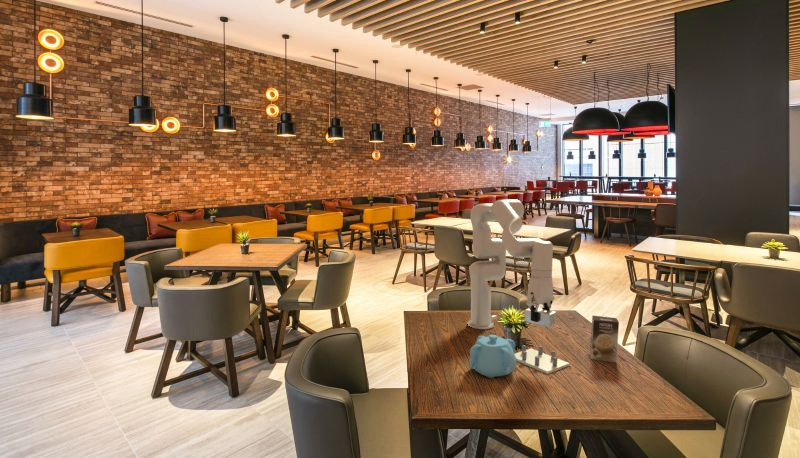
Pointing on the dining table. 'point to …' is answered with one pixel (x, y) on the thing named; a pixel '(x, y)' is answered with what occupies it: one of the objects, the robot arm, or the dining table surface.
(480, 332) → the dining table surface
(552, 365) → the pin tray
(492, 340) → the decorative pot
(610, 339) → the coffee box
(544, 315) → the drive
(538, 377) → the dining table surface
